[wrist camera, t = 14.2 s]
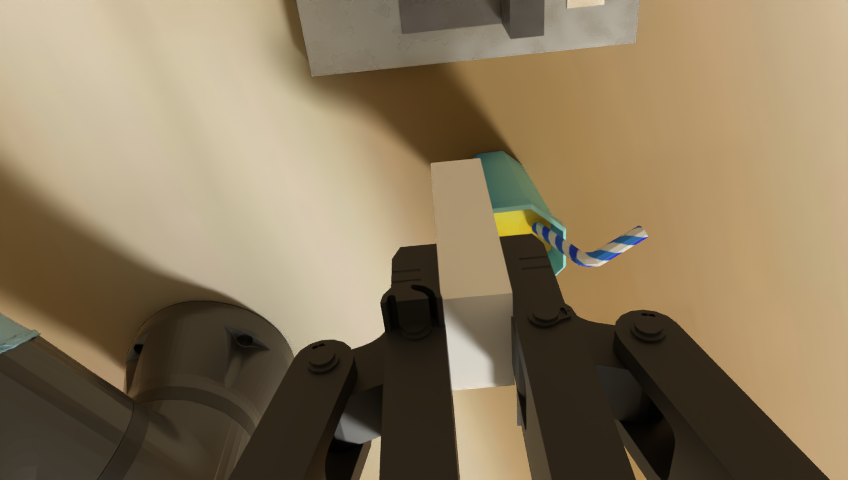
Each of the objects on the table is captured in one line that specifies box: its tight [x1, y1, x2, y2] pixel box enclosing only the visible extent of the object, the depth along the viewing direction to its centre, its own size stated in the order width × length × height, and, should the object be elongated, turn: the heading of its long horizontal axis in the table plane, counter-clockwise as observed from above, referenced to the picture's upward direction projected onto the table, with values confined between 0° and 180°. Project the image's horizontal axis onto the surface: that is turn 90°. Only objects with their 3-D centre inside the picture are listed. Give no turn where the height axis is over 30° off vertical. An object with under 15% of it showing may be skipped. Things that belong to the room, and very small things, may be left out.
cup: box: [473, 151, 647, 276], centre depth 41 cm, size 14×8×15 cm, turn 120°
